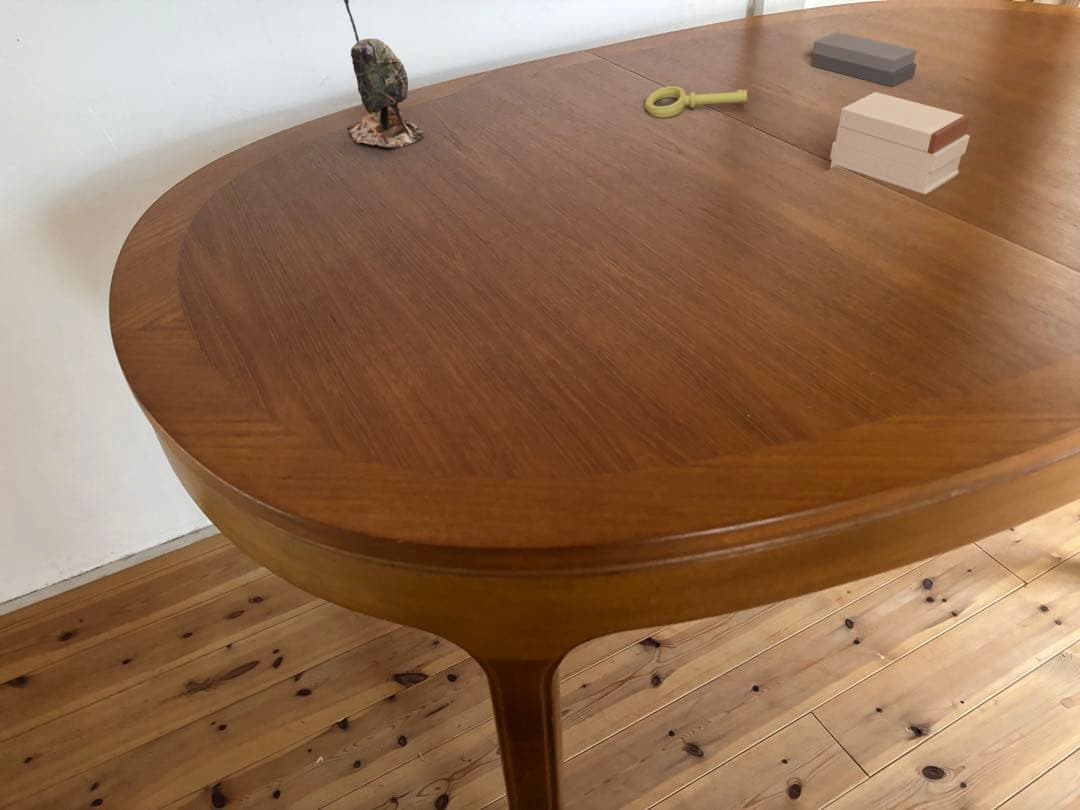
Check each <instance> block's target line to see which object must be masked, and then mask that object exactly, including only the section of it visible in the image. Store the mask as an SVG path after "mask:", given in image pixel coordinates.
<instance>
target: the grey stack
mask: <svg viewBox="0 0 1080 810" xmlns="http://www.w3.org/2000/svg"><path fill="white" fill-rule="evenodd" d="M916 54H917V49H913V48H908V47H904V46H900V45H896V44H891V43H887V42H882V41H877V40H874V39H870V38H865V37H860V36H855V35H851V34H848V33H842V32H839V31H836V32H833V33H831V34H829V35H826V36H823V37H821V38H818V39H817V40H814V43H813V49H812V56H811V63H810V66H811V67H815V68H818V69H822V70H826V71H829V72H834V73H837V74H842V75H845V76H849V77H853V78H856V79H862V80H865V81H869V82H872V83H876V84H880V85H883V86H887V87H895V86H897V85H899V84H901V83H903V82H905V81H907V80H910V79H911V78H913V77H915V73H916V69H917V63H915V59H916Z"/></svg>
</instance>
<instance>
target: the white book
mask: <svg viewBox="0 0 1080 810" xmlns="http://www.w3.org/2000/svg"><path fill="white" fill-rule="evenodd" d="M970 119H971V116H970V115H966V114H961V113H958V112H954V111H949V110H945V109H942V108H938V107H935V106H930V105H927V104H924V103H919V102H915V101H911V100H908V99H904V98H900V97H896V96H893V95H889V94H885V93H882V92H878V91H874V92H872V93H870V94H868V95H866V96H864V97H862V98H860V99H858V100H857V101H854V102H852V103H850V104H848V105H845V106H844V107H842V108H841V110H840V116H839V122H838V126H841V127H844V128H848V129H851V130H854V131H858V132H861V133H864V134H868V135H871V136H875V137H878V138H881V139H885V140H888V141H891V142H895V143H898V144H902V145H905V146H908V147H912V148H915V149H918V150H922V151H925V152H928V153H931V154H934V153H935V152H937V151H939V150H941V149H942V148H944V147H946V146H947V145H949V144H951V143H952V142H954V141H956V140H958V139H959V138H961V137H963V136H964V135H966V134H967V131H968V126H969V123H970Z"/></svg>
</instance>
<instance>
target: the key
mask: <svg viewBox="0 0 1080 810" xmlns="http://www.w3.org/2000/svg"><path fill="white" fill-rule="evenodd" d="M666 98H674V99H677V100H676V101H675V102H673V103H671V104H668V105H663V106H662V105H661V106H660V105H659V106H658V105H655V102H657V101H658V100H661V99H666ZM747 102H748V89H747V88H745V89H737V90H736V92H719V93H717V92H716V93H715V92H714V93H702V94H701V93H699V94H696V92H695V91H691V92H690V93H689V94H686V91H685V89H683V87H680V86H676V85H674V86H673V85H672V86H664V87H660V88H658V89H656V90H654V91H653V92H652V93H650V94H649V95H648V97H647V98H646V100H645V103H644V108H645V110H646V112H647V113H648V114H649V115H650V116H652V117H656V118H670V117H674V116H676V115H678V114H679V113H681V112H682V111H683V110H684V109H685V107H686V106H689V107H690V108H691V109H695V108H696V106H704V105H718V104H719V105H721V104H722V105H723V104H724V105H725V104H737V103H738V104H739V103H747Z"/></svg>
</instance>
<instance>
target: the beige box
mask: <svg viewBox="0 0 1080 810" xmlns="http://www.w3.org/2000/svg"><path fill="white" fill-rule="evenodd" d="M836 130H837V131H836V137H835V140H834V141H833V142H832V145H831V149H830V155H829V160H831V162H830V166H829V167H830V168H829V169H832V168H834V167H836V166H838V167H841V168H844V169H847V170H849V171H853V172H856V173H859V174H862V175H865V176H868V177H871V178H874V179H877V180H880V181H883V182H886V183H889V184H892V185H895V186H898V187H902V188H904V189H908V190H910V191H912V192H913V191H914V192H917V193H919V194H922V195H927V194H929V193H930V192H932V191H934V190H935V189H937V188H938V187H940V186H942V185H944V184H945V183H947V182H948V181H950V180H951V179H953V178H954V177H956V176H958V175H959V174H960V173H959V172H960V170H959V165H960V161H961V158H962V155H964V154H966V151H967V149H968V148H967V147H968V145H969V140H970V137H971V135H970V134H967V133H966V135H964V136H963V137H961V138H959V139H958V140H956V141H954V142H952V143H951V144H949V145H947V146H946V147H944V148H942V149H941V150H939V151H937V152H935V153H934V154H931V153H928V152H925V151H922V150H918V149H915V148H912V147H908V146H905V145H902V144H898V143H895V142H891V141H888V140H885V139H881V138H878V137H875V136H871V135H868V134H864V133H861V132H858V131H854V130H851V129H848V128H844V127H841V126H839V125H838V126H837V129H836Z"/></svg>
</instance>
